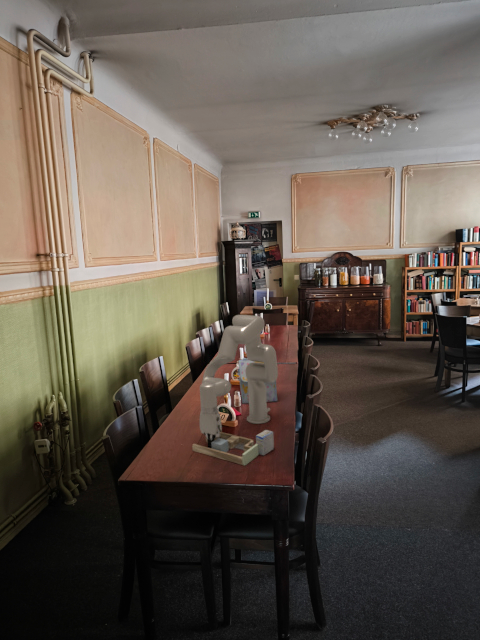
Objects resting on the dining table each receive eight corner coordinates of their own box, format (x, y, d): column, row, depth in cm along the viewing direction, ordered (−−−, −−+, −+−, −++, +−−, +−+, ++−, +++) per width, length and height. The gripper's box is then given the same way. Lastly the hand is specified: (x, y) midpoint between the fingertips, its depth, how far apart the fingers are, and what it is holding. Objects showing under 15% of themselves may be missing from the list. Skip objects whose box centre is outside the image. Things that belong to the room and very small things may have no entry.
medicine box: (266, 446, 201) (265, 429, 200) (274, 449, 198) (273, 431, 197) (256, 453, 195) (255, 435, 194) (264, 456, 192) (263, 437, 191)
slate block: (219, 447, 202) (218, 437, 201) (228, 450, 199) (228, 440, 198) (211, 452, 198) (211, 442, 197) (221, 455, 194) (220, 445, 194)
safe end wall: (256, 454, 194) (256, 443, 193) (258, 454, 193) (258, 444, 193) (242, 465, 185) (242, 454, 184) (244, 465, 184) (244, 454, 183)
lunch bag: (240, 406, 255) (238, 362, 250) (239, 396, 271) (237, 355, 267) (278, 403, 255) (276, 360, 251) (275, 394, 272) (273, 353, 268)
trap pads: (220, 438, 211) (220, 438, 211) (250, 446, 202) (250, 446, 202) (214, 442, 208) (214, 442, 208) (245, 450, 198) (245, 450, 198)
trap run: (215, 436, 215) (215, 430, 214) (263, 448, 199) (263, 442, 199) (192, 450, 200) (192, 444, 200) (242, 465, 185) (242, 458, 184)
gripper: (227, 409, 197) (229, 447, 200) (201, 404, 205) (204, 440, 208) (217, 414, 191) (219, 453, 194) (191, 409, 199) (193, 446, 202)
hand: (211, 446), depth 201 cm, fingers closed
